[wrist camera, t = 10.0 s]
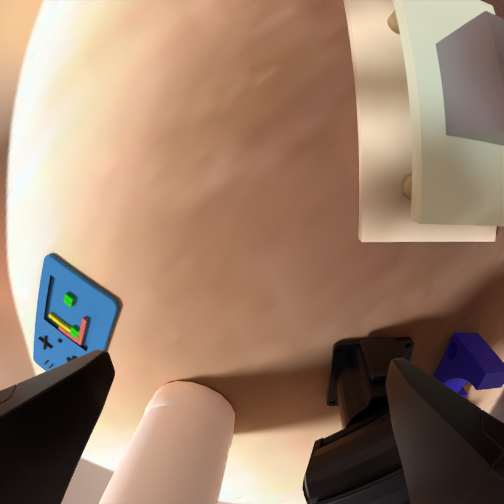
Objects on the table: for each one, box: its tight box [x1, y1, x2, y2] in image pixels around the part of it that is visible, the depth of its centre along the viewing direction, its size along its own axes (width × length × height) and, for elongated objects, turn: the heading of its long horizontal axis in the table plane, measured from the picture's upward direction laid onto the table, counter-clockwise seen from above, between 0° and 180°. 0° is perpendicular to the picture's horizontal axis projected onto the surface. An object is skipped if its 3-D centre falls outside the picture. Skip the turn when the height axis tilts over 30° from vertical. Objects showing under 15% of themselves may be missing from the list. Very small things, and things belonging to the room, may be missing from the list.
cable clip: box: [433, 333, 504, 398], centre depth 19 cm, size 12×4×6 cm, turn 173°
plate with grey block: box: [393, 0, 504, 226], centre depth 9 cm, size 7×14×6 cm, turn 3°
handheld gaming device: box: [33, 254, 119, 371], centre depth 24 cm, size 8×1×15 cm
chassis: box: [344, 0, 497, 242], centre depth 14 cm, size 18×11×4 cm, turn 3°
